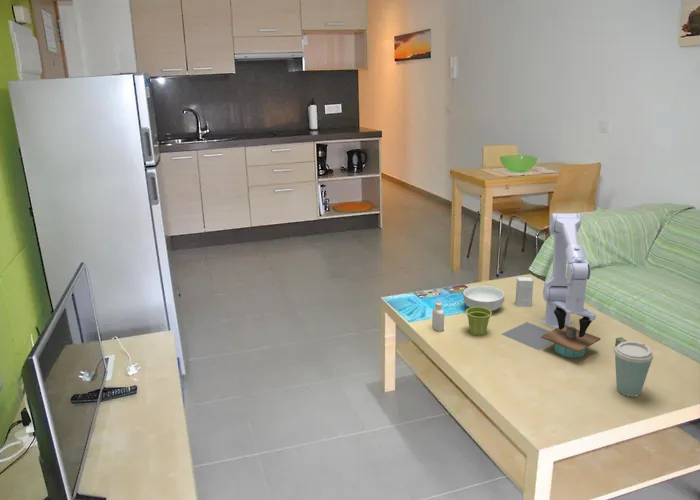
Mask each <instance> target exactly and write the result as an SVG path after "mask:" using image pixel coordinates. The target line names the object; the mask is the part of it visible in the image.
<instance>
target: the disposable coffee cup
mask: <svg viewBox="0 0 700 500" xmlns="http://www.w3.org/2000/svg"><path fill="white" fill-rule="evenodd" d="M613 353H614V359H615V360H614V361H615V364H614V365H615V382H616V383H615V384H616V385H615V386H616V390H617V392H618V391H619V392H620V393H619V392H618V393H619V394H621V393H622V394H625V395H629V396H636V395H638V396H639V394H641V393H642V391H643V388H644V385H645V382H646V379H647V375H648V373H649V370H650V367H651V363H652V361H653V360H654V355H653V351H652V348H651V347H650V346H648V345H647V344H645V343H642V342H640V341H635V340H634V341H630V340H626V342H621V343H620V344H618V345H617V346H616V347H615V346H614V349H613ZM622 394H621V395H622ZM625 395H624V396H625ZM629 396H628V397H629ZM636 397H637V396H636Z"/></svg>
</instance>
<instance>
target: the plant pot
mask: <svg viewBox="0 0 700 500" xmlns="http://www.w3.org/2000/svg"><path fill="white" fill-rule="evenodd" d="M465 313H466V315H467V319H468V328H469V332H470V334H472V335H474V336H485V335H486V334H487V330H488V325H489V321H490V318H491V315H493V314H492V313H493V311H490V310H489V309H487V308H484V307H471V308H470V307H468V308H467V309H466V311H465Z"/></svg>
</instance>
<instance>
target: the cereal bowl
mask: <svg viewBox="0 0 700 500" xmlns="http://www.w3.org/2000/svg"><path fill="white" fill-rule="evenodd" d="M462 298H463V302H464V303H465V305H466V306H467V307H468V308H471V307H484V308H487V309H489V310H490V311H491V312H493V311H495V310H498V309H500V308H501V307H502V306H503V304H504V302H505V292H504V291H503V290H502V289H500V288H497V287H495V286H490V285H482V284H481V285H472V286H469V287H466V288H465V289H464V290H463V292H462Z"/></svg>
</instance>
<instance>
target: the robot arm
mask: <svg viewBox="0 0 700 500" xmlns="http://www.w3.org/2000/svg"><path fill="white" fill-rule="evenodd" d="M548 225H549V228H548V229H549V231H548V232H549V234H551V235H553V239H554V241H553V259H552V260H553V261H552V262H553V263H552V276H551V277H550V278H548V279H546V280H545V281H544V284H543V289H542V297H543V300H544V301H545V302H546V306H545V315H544V317H545V318H544V319H541V320H540V323H542V324H545V325H547V326H550V327H552V328H554V329H556V328H558V327H559V329H560V330H561V329H563V328H564V326H565V325H566V326H567V325H568V324H569V323H570V324H571V323H572V320H571V319H570V318H571V314H574V315H577V316H580V317H581V318H579V320H578V323H579V330H580V331H579V337H583V336H584V335H585V333H587V330H588V328H589V326H590V325H591V323H592V322H593V321H595V320H596V317H597V316H596V315H597V314H596V313H593V312H592V311H589V310H588V309H586V308H584V307H585V298H586V290H587V284H588V283H587V281H588V280H589V279H590V278H591V264H590V263H589V262H588V260H587V259H586V257H585V253H584V249H583V247H582V246H581V245H580V244H579V240H578V239H579V238H578V232H579V230H580V228H581V225H582V217H581V215H580V213H579V212H578V213H577V212H576V213H561V212H560V213H558V212H556V213H555V212H553V213H551V214H550V217H549V224H548Z"/></svg>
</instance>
